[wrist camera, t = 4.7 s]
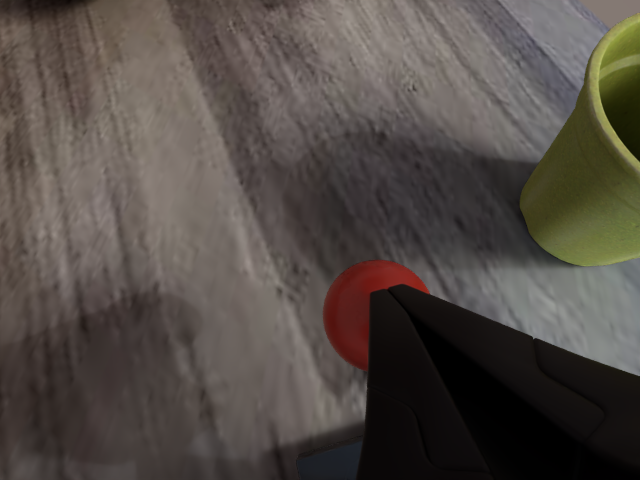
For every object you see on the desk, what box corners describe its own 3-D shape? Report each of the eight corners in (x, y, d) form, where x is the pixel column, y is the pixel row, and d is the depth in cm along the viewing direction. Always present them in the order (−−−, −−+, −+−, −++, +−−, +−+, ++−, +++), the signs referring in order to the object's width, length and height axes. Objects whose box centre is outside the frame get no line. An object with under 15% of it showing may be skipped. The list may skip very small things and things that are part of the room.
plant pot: (456, 235, 20) (546, 135, 12) (527, 117, 22) (641, -31, 14) (630, 336, 18) (884, 300, 10) (686, 193, 20) (922, 71, 12)
